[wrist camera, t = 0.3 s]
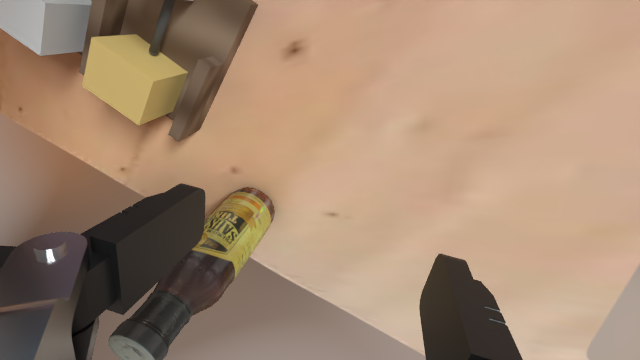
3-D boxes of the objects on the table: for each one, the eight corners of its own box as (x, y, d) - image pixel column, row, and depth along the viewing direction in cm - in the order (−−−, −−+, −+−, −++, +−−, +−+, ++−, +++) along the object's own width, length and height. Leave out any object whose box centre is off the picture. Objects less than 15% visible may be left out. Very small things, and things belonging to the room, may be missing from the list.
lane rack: (38, -167, 25) (-19, -197, 22) (258, 5, 27) (237, 3, 24) (27, 6, 32) (-17, 4, 29) (199, 129, 35) (178, 141, 31)
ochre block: (161, -62, 25) (104, -81, 20) (222, -15, 26) (180, -22, 21) (124, 76, 32) (75, 87, 27) (172, 111, 33) (133, 127, 28)
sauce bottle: (271, 184, 36) (159, 333, 19) (280, 227, 39) (189, 389, 22) (223, 184, 38) (79, 320, 21) (235, 224, 41) (117, 374, 24)
